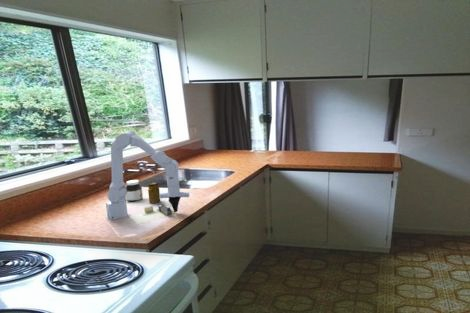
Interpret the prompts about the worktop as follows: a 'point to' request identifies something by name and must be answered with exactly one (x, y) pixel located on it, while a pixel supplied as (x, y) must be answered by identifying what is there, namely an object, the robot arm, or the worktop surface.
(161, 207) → the latch bar
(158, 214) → the door board
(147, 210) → the block
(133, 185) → the spread jar
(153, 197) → the condiment
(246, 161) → the worktop surface
